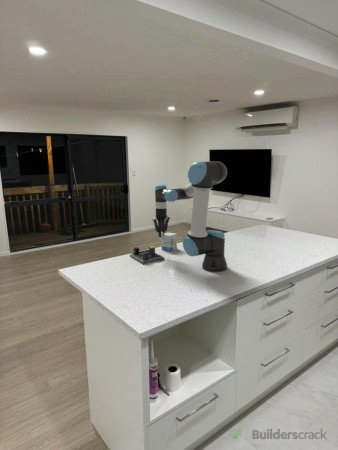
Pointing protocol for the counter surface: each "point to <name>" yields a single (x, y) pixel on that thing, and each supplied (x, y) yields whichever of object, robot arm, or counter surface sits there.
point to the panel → (151, 258)
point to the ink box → (169, 241)
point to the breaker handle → (151, 250)
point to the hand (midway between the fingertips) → (161, 241)
